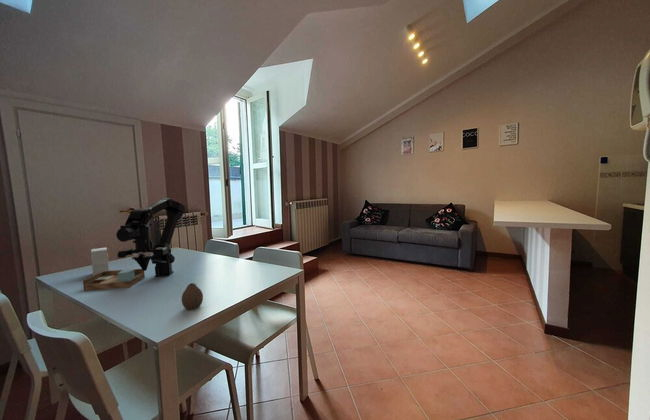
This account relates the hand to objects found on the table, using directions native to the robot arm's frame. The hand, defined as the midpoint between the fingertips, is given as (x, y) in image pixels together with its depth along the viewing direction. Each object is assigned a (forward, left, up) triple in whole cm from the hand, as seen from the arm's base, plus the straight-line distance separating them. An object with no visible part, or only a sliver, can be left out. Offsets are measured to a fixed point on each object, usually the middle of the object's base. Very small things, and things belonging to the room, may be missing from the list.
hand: (144, 270), depth 120 cm
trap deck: (+14, -3, -6) cm, 16 cm away
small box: (+31, -21, -6) cm, 38 cm away
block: (+8, 0, -4) cm, 9 cm away
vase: (-30, +31, -6) cm, 43 cm away
